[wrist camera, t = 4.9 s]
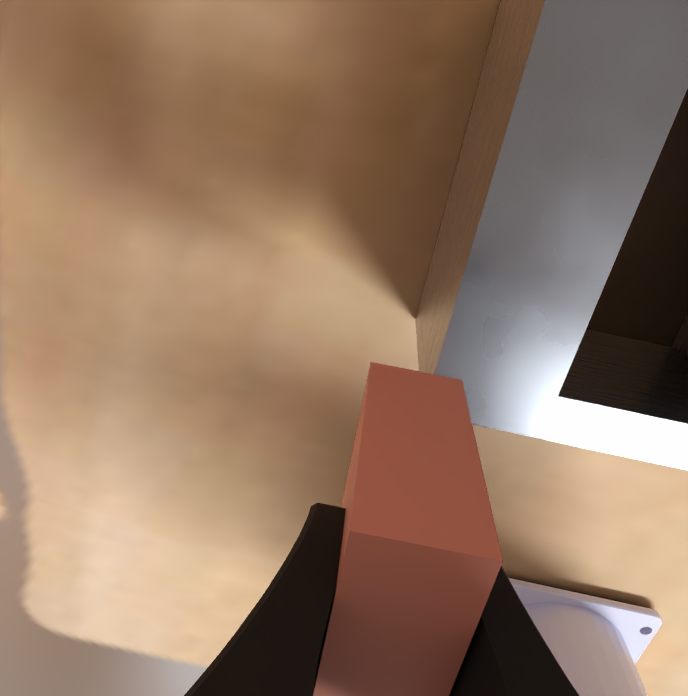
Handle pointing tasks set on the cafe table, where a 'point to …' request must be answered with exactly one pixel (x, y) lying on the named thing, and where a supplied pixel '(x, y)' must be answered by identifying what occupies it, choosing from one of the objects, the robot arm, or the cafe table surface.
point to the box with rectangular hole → (559, 228)
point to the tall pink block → (409, 543)
